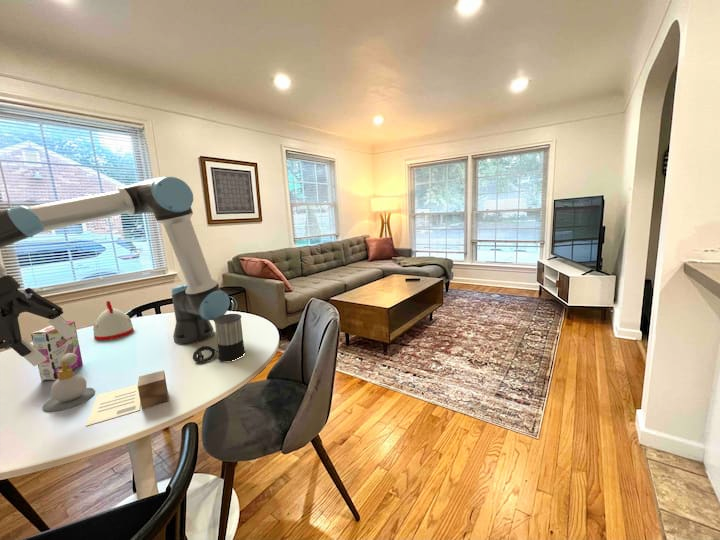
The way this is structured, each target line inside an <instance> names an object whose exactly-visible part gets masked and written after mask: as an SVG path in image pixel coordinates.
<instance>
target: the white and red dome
mask: <svg viewBox="0 0 720 540" xmlns="http://www.w3.org/2000/svg"><path fill="white" fill-rule="evenodd" d="M111 304H112V303H111V301H109V300H107V301H106V307H107V308H106V309H105V310H103V311H102V312H101V313H100V315H99V316H98V317H97V319H96V321H93V328H92V329H93V330H92V331H93V339H94V340H95V341H109V340H115V339H119V338H122V337H125V336H128V335H130V334H132V333H133V332H134V325H133V323H132V319H131V318H130V316H129V315H128V314H126V313H124V312H123V311H122V310H120V309H118V308H114V307H113V308H112V305H111Z"/></svg>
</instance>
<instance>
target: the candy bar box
mask: <svg viewBox="0 0 720 540" xmlns="http://www.w3.org/2000/svg"><path fill="white" fill-rule="evenodd" d="M65 321H66V320H65ZM66 322H67V323H68V325H69V326H70V327H71V328H72V329H73V330H74V331H75V332H76V333H77V327H76V321H74V320H73V321H72V320H70V321H68V320H67V321H66ZM30 336H31V340H32V345H33V346H34V347H35V348H36V349H37V350H38V351H39V352H40V353H41V354H43V355H44V356H45V357H46V358H47V360H45V361H44V362H42V363H40V364H38V365H37V368H38V373H39V376H40V381H41V382H47V381H50V382H51V381H56V380H57V379H58V378H59V373H58V371H59V370H61V369H62V367H61V365H62V364H61V358H62V357H63V356H64V355H65V354H67V353H74V354H76V355H77V361H76V362H75V363H74V364H73V365H71V366H66V367H72V371H74V370H76V369H77V368H79V367H81V366H82V365H83V358H82V354H81V349H80V343H79V337H78V333H77V334H76V335H74V336H72V337H70V338H68V339H67V340H66V339H65V338H64V337H63V336H62V335H61V334H60V333H59V332H58V331H57V330H56V329H55V328H54V327H53V326H52V325H51V324H50V325H48V326H46V327H44V328H41V329H39V330H36V331H34V332H31V333H30Z"/></svg>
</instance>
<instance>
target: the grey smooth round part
mask: <svg viewBox="0 0 720 540" xmlns="http://www.w3.org/2000/svg"><path fill="white" fill-rule="evenodd" d="M95 393H96V392H95V389H94V388H93V387H86V389H85V391H84V393H83V394H82V395H81V396H80V397H78V398H76V399H74V400H71V401H66V402H60V401H57V400H55V399H54V398H53V397H50V399H48V400H47V401H46V402H45V403H43V404H42V411H44V412H46V413H53V412H61V411H65V410H68V409H72V408H74V407H76V406H79V405H82V404H83V403H85V402H86V401H88V400H89V399H91V398H92V397H93V396H94V395H95Z"/></svg>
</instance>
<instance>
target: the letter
mask: <svg viewBox="0 0 720 540" xmlns="http://www.w3.org/2000/svg"><path fill="white" fill-rule="evenodd" d="M140 409H141V402H140V397H139V391H138V384H134V385H131V386H127V387H122V388H119V389H116V390H115V389H114V390H111V391H107V392H104V393H100V394H97V396H96V398H95V401H94V404H93V406H92V409H91V411H90V414H89V416H88V418H87V422H86V425H85V427H89V426H92V425H95V424H98V423H102V422H105V421H109V420H111V419H115V418H119V417H122V416H125V415H129V414H132V413H135V412H139V411H140Z"/></svg>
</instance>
